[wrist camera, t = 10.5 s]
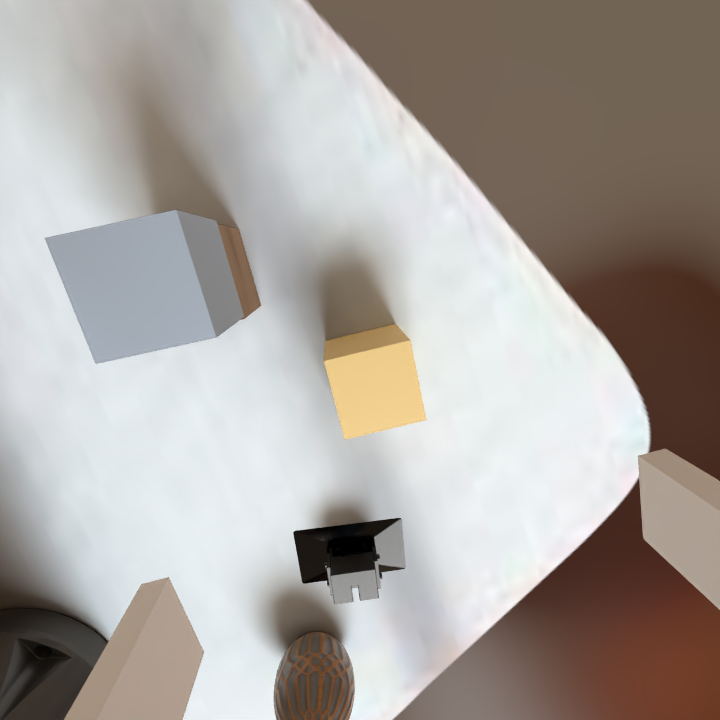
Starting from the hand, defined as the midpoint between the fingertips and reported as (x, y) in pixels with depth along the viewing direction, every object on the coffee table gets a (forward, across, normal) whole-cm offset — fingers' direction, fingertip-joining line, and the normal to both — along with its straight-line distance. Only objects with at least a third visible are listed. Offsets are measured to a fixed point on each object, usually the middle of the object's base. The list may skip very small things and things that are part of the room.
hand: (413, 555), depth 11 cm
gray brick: (+15, +9, -9) cm, 19 cm away
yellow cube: (+21, 0, +1) cm, 21 cm away
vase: (+21, +11, +26) cm, 36 cm away
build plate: (+22, +5, +17) cm, 28 cm away
